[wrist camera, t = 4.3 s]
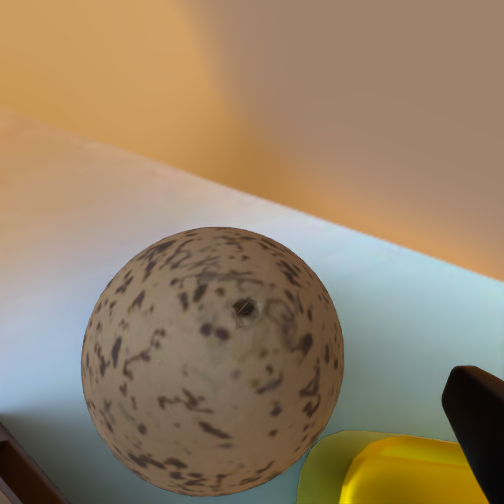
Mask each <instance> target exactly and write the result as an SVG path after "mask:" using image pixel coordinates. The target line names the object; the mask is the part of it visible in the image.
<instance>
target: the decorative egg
mask: <svg viewBox="0 0 504 504" xmlns="http://www.w3.org/2000/svg"><path fill="white" fill-rule="evenodd" d="M343 370H344V344H343V336H342V330H341V326H340V322H339V319H338V316H337V313H336V309H335V307H334V304H333V302H332V300H331V298H330V296H329V294H328V292H327V290H326V288H325V287H324V285H323V284H322V282H321V281H320V279H319V278H318V277H317V275H316V274H315V273H314V271H313V270H312V269H311V268H310V267H309V266H308V265H307V264H306V263H305V262H304V261H303V260H302V259H301V258H300V257H298V256H297V255H296V254H295V253H293V252H292V251H291V250H290V249H288V248H287V247H285V246H284V245H282V244H280V243H278V242H276V241H274V240H273V239H271V238H268V237H266V236H263V235H261V234H258V233H254V232H251V231H247V230H243V229H238V228H231V227H205V228H198V229H192V230H188V231H184V232H180V233H177V234H175V235H172V236H169V237H166V238H164V239H162V240H160V241H158V242H156V243H155V244H153V245H151V246H149V247H148V248H146V249H145V250H143V251H142V252H140V253H139V254H138V255H136V256H135V257H134V258H133V259H131V260H130V261H129V262H128V263H127V264H126V265H125V266H124V267H123V268H122V269H121V270H120V271H119V272H118V273H117V274H116V275H115V277H114V278H113V279H112V280H111V281H110V282H109V284H108V285H107V287H106V288H105V289H104V291H103V292H102V294H101V296H100V298H99V299H98V301H97V303H96V305H95V307H94V309H93V312H92V314H91V317H90V319H89V322H88V325H87V328H86V332H85V336H84V340H83V347H82V357H81V377H82V385H83V392H84V396H85V400H86V404H87V407H88V410H89V413H90V416H91V419H92V421H93V423H94V425H95V427H96V429H97V431H98V433H99V435H100V437H101V438H102V440H103V441H104V442H105V444H106V445H107V446H108V448H109V449H110V450H111V452H112V453H113V454H114V456H115V457H116V458H117V459H118V460H119V461H120V462H121V463H122V464H123V465H124V466H126V467H127V468H128V469H129V470H131V471H132V472H133V473H134V474H136V475H137V476H139V477H140V478H141V479H143V480H145V481H147V482H149V483H151V484H153V485H155V486H157V487H159V488H161V489H164V490H168V491H172V492H175V493H179V494H182V495H188V496H199V497H205V496H223V495H229V494H234V493H238V492H242V491H246V490H248V489H251V488H254V487H257V486H259V485H262V484H264V483H266V482H268V481H270V480H271V479H273V478H275V477H276V476H278V475H280V474H281V473H283V472H284V471H285V470H287V469H288V468H289V467H291V466H292V465H293V464H294V463H295V462H297V461H298V460H299V459H300V458H301V457H302V456H303V455H304V454H305V453H306V451H307V450H308V449H309V448H310V447H311V446H312V445H313V444H314V443H315V441H316V440H317V438H318V437H319V436H320V434H321V433H322V431H323V430H324V428H325V426H326V425H327V423H328V421H329V419H330V417H331V414H332V412H333V410H334V407H335V405H336V403H337V399H338V396H339V393H340V388H341V383H342V378H343Z"/></svg>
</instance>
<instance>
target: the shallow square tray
mask: <svg viewBox="0 0 504 504" xmlns="http://www.w3.org/2000/svg"><path fill="white" fill-rule="evenodd" d="M0 504H70V502H69V501H68V500H67V499H66V498H65V497H64V496H63V494H62V493H61V492H60V491H59V490H58V489H57V487H56V486H55V485H54V484H53V483H52V482H51V480H50V479H49V478H48V477H47V476H46V475H45V473H44V472H43V471H42V470H41V469H40V468H39V467H38V465H37V464H36V463H35V462H34V461H33V460H32V458H31V457H30V456H29V455H28V454H27V453H26V451H25V450H24V449H23V448H22V447H21V446H20V445H19V443H18V442H17V441H16V440H15V439H14V437H13V436H12V435H11V434H10V433H9V432H8V430H7V429H6V428H5V427H4V426H3V425H2V423H1V422H0Z"/></svg>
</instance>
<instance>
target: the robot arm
mask: <svg viewBox="0 0 504 504" xmlns="http://www.w3.org/2000/svg"><path fill="white" fill-rule="evenodd" d="M441 401H442V407H443V409H444V412H445V414H446V416H447V418H448V420H449V422H450V425H451V427H452V429H453V431H454V433H455V436H456V438H457V440H458V442H459V444H460V447H461V449H462V451H463V453H464V455H465V458H466V460H467V462H468V464H469V466H470V468H471V470H472V472H473V475H474V477H475V479H476V481H477V482H478V484H479V486H480V488H481V490H482V492H483V493H484V495H485V497H486V499H487V501H488V502H489V504H504V381H503V380H501V379H499V378H497V377H495V376H494V375H492V374H490V373H488V372H486V371H484V370H482V369H480V368H478V367H476V366H472V365H467V366H456V367H454V368H453V369H452V370H451V372H450V375H449V378H448V380H447V383H446V386H445V388H444V391H443V393H442V398H441Z"/></svg>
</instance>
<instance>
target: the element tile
mask: <svg viewBox="0 0 504 504" xmlns="http://www.w3.org/2000/svg"><path fill="white" fill-rule="evenodd" d="M296 504H489V502H488V501H487V499H486V497H485V495H484V493H483V492H482V490H481V488H480V486H479V484H478V482H477V481H476V479H475V477H474V475H473V472H472V470H471V468H470V466H469V464H468V462H467V460H466V458H465V455H464V453H463V451H462V449H461V447H460V444H459V443H458V442H452V441H445V440H439V439H432V438H426V437H420V436H413V435H407V434H396V433H384V432H373V431H361V430H348V431H340V432H337V433H334V434H331V435H328V436H325V437H324V438H322V439H321V440H320V441H319V442H318V443H317V444H316V445H315V446H314V447H313V448H312V449H311V450H310V452H309V454H308V456H307V458H306V461H305V463H304V465H303V467H302V470H301V474H300V479H299V484H298V488H297V500H296Z"/></svg>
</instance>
